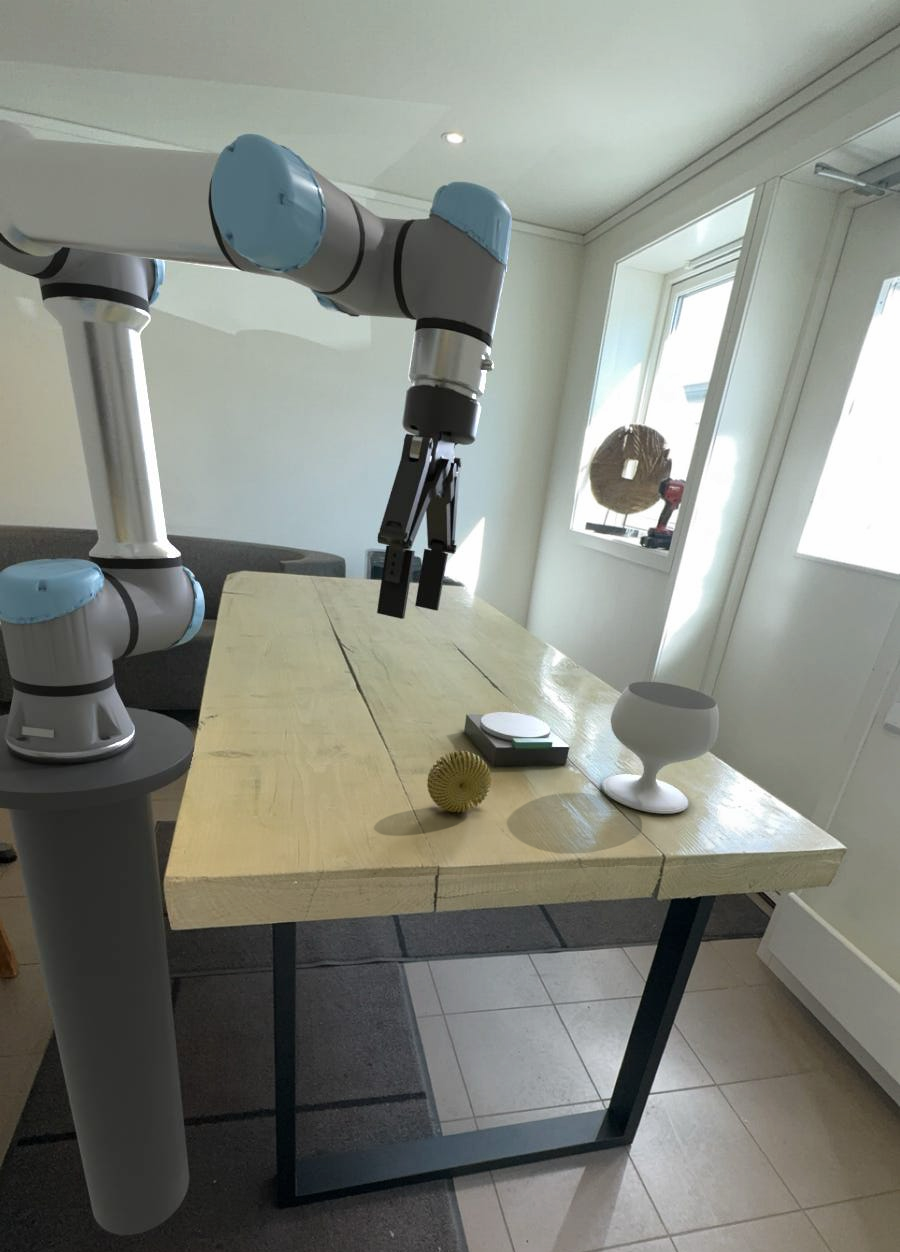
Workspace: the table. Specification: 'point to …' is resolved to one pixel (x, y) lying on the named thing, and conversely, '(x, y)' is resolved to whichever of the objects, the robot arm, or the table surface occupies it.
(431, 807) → the table surface
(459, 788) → the sculpture
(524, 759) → the scale
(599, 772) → the table surface
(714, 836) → the table surface
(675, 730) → the chalice
